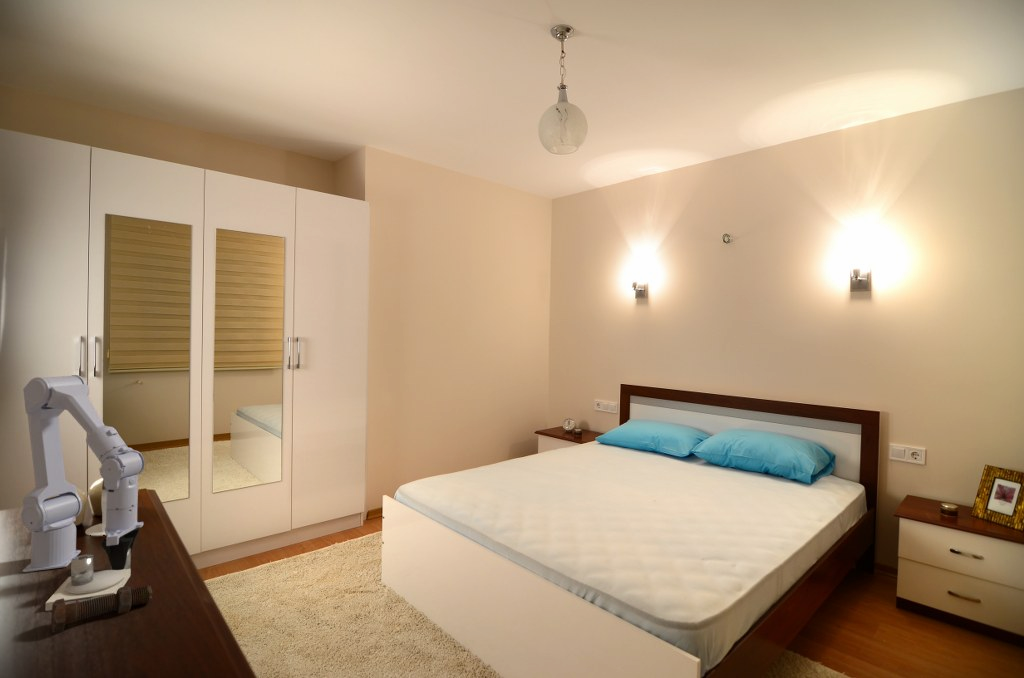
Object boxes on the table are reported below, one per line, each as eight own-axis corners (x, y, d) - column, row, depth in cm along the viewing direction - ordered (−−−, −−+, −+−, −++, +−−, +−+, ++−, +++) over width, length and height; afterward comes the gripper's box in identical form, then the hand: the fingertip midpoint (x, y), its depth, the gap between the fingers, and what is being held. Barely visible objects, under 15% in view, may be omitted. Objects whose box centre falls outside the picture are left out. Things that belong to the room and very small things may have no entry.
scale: (69, 584, 112) (69, 573, 112) (131, 575, 117) (131, 564, 117) (44, 612, 101) (44, 599, 101) (114, 601, 105) (114, 589, 105)
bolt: (150, 613, 105) (51, 640, 94) (147, 593, 108) (50, 616, 98) (155, 593, 103) (54, 618, 92) (151, 573, 106) (53, 595, 96)
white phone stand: (134, 531, 143) (135, 477, 143) (81, 539, 137) (82, 482, 137) (138, 518, 153) (139, 467, 153) (88, 525, 147) (89, 472, 147)
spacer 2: (113, 570, 120) (113, 548, 120) (132, 567, 121) (132, 545, 121) (108, 576, 116) (108, 554, 116) (127, 574, 118) (128, 551, 118)
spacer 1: (74, 579, 110) (75, 555, 110) (95, 576, 111) (96, 553, 111) (68, 587, 106) (68, 562, 106) (89, 584, 108) (90, 559, 108)
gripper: (134, 513, 114) (133, 576, 114) (150, 495, 127) (149, 551, 127) (94, 517, 111) (93, 581, 111) (115, 498, 124) (114, 555, 124)
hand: (121, 565), depth 119 cm, fingers closed on spacer 2, 4 cm apart
